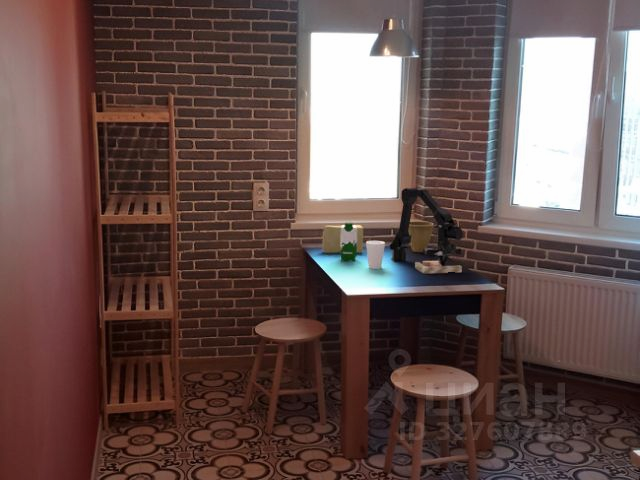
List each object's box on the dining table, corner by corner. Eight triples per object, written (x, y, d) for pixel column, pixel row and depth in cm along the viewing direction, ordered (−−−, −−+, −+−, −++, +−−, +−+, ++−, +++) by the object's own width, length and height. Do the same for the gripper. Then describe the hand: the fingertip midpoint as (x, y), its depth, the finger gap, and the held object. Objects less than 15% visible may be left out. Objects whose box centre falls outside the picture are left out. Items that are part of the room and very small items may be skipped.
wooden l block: (423, 273, 382) (423, 267, 381) (414, 267, 394) (415, 262, 394) (461, 272, 386) (461, 266, 385) (452, 266, 398) (452, 261, 398)
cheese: (323, 254, 427) (324, 227, 424) (321, 250, 436) (321, 224, 434) (363, 253, 430) (363, 226, 428) (359, 250, 440) (360, 223, 437)
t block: (427, 272, 385) (428, 265, 385) (422, 267, 395) (422, 261, 394) (447, 271, 387) (447, 264, 386) (441, 267, 396) (441, 260, 396)
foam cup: (386, 266, 397) (387, 241, 394) (380, 270, 388) (381, 244, 386) (369, 264, 401) (370, 240, 398) (362, 268, 392) (363, 243, 390)
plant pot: (400, 249, 442) (401, 222, 439) (423, 247, 448) (424, 220, 445) (414, 254, 428) (415, 226, 425) (437, 252, 434) (438, 224, 432)
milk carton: (339, 261, 409) (340, 223, 405) (340, 257, 418) (341, 221, 414) (356, 261, 408) (356, 224, 405) (357, 258, 417) (357, 221, 413)
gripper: (430, 240, 378) (429, 272, 381) (466, 239, 381) (465, 270, 384) (423, 236, 389) (422, 267, 391) (458, 235, 392) (457, 265, 395)
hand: (442, 267), depth 390 cm, fingers closed
